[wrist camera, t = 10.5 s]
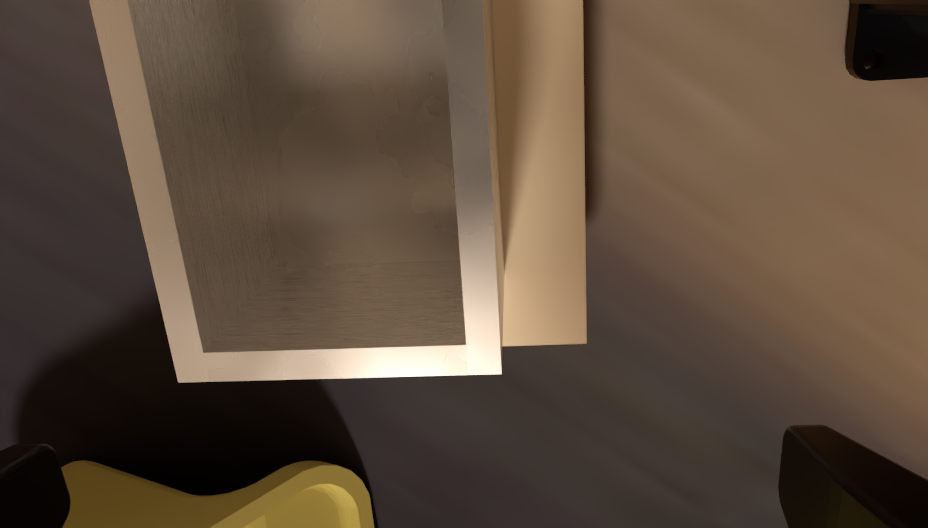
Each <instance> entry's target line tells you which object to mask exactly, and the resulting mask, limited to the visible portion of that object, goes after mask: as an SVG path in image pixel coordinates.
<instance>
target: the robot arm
mask: <svg viewBox="0 0 928 528" xmlns="http://www.w3.org/2000/svg"><path fill="white" fill-rule="evenodd" d="M849 1H850V2H852V5H851V14H850V22H849V31H848V40H847V49H846V58H845V63H846V69H847V70H848V72H849V74H850V75H852V76H854V77H855V78H858V79H862V80H869V81H876V80H892V79H908V78H924V77H928V0H849ZM870 50H874V51H875V52H876V55H877V59H876V61H875V64H874V65H872V66H871V67H870V68H867V69H866V68H865V67H864V66H863V58H864V56H865V54H866V53H867V52H868V51H870ZM778 488H779V498H780V503H781V507H782V510H783V513H784V516H785V519H786V521H787V524H788V527H789V528H928V480H927V479H925V478H923V477H921V476H919V475H918V474H916V473H914V472H912V471H910V470H908V469H906V468H904V467H903V466H901V465H899V464H897V463H895V462H893V461H891V460H889V459H888V458H886V457H884V456H882V455H880V454H878V453H876V452H874V451H873V450H871V449H869V448H867V447H865V446H863V445H861V444H859V443H858V442H856V441H854V440H852V439H850V438H848V437H846V436H844V435H843V434H841V433H839V432H837V431H835V430H833V429H831V428H829V427H827V426H825V425H793V426H790V427H788V428H787V429H786V431H785V433H784V436H783V444H782V454H781V464H780V474H779V485H778ZM70 504H71V501H70V494H69V491H68V488H67V484H66V481H65V478H64V475H63V472H62V469H61V466H60V462H59V459H58V456H57V454H56V451H55V450H54V449H53V448H52V447H51V446H50V445H48V444H17V445H13V446H10V447H8V448H6V449H4V450H1V451H0V528H63V526H64V524H65V522H66V520H67V517H68V515H69V511H70Z"/></svg>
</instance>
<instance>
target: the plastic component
mask: <svg viewBox="0 0 928 528" xmlns="http://www.w3.org/2000/svg"><path fill="white" fill-rule="evenodd" d="M61 469H62V472H63V475H64V478H65V481H66V484H67V488H68V491H69V494H70V501H71V504H70V511H69V515H68V517H67V520H66V522H65V524H64V526H63V528H374V522H373V515H372V508H371V501H370V495H369V493H368V491H367V489H366V487H365V485H364V483H363V481H362V480H361V479H360V478H359V477H358V476H357V475H356V474H354V473H353V472H352V471H351V470H348V469H346V468H343V467H340V466H338V465H334V464H330V463H326V462H321V461H302V462H297V463H293V464H290V465H287V466H284V467H282V468H280V469H279V470H277V471H275V472H273V473H272V474H270V475H268V476H267V477H265V478H263V479H261V480H260V481H258V482H256V483H254V484H252V485H250V486H248V487H245V488H242V489H239V490H236V491H233V492H230V493H225V494H218V495H212V496H198V495H191V494H188V493H185V492H182V491H179V490H176V489H173V488H170V487H167V486H164V485H161V484H158V483H155V482H153V481H150V480H147V479H144V478H141V477H138V476H135V475H132V474H129V473H126V472H123V471H120V470H117V469H114V468H111V467H108V466H105V465H102V464H99V463H96V462H92V461H85V460H82V461H74V462H71V463H69V464H67V465H65V466H63V467H61Z"/></svg>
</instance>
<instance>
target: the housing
mask: <svg viewBox="0 0 928 528" xmlns="http://www.w3.org/2000/svg"><path fill="white" fill-rule="evenodd" d="M89 2H90V6H91V10H92V15H93V19H94V23H95V28H96V32H97V36H98V40H99V45H100V49H101V53H102V58H103V62H104V66H105V70H106V75H107V79H108V83H109V88H110V92H111V96H112V101H113V105H114V109H115V113H116V118H117V122H118V126H119V131H120V135H121V139H122V144H123V148H124V152H125V156H126V161H127V165H128V169H129V174H130V178H131V182H132V187H133V191H134V195H135V199H136V204H137V208H138V212H139V217H140V221H141V225H142V230H143V234H144V238H145V242H146V247H147V251H148V255H149V260H150V264H151V268H152V272H153V277H154V281H155V285H156V290H157V294H158V298H159V303H160V307H161V311H162V315H163V320H164V324H165V328H166V333H167V337H168V341H169V346H170V350H171V354H172V358H173V363H174V367H175V371H176V376H177V380H178V383H185V382H223V381H261V380H299V379H337V378H375V377H413V376H451V375H489V374H502V348H503V308H504V255H503V234H502V213H501V192H500V172H499V151H498V130H497V110H496V89H495V68H494V48H493V27H492V6H491V0H89Z"/></svg>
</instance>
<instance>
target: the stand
mask: <svg viewBox="0 0 928 528" xmlns="http://www.w3.org/2000/svg"><path fill="white" fill-rule="evenodd" d="M491 6H492V27H493V48H494V68H495V89H496V110H497V130H498V151H499V172H500V192H501V213H502V234H503V255H504V308H503V346H527V345H557V344H587V338H586V240H585V142H584V44H583V0H491Z"/></svg>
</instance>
